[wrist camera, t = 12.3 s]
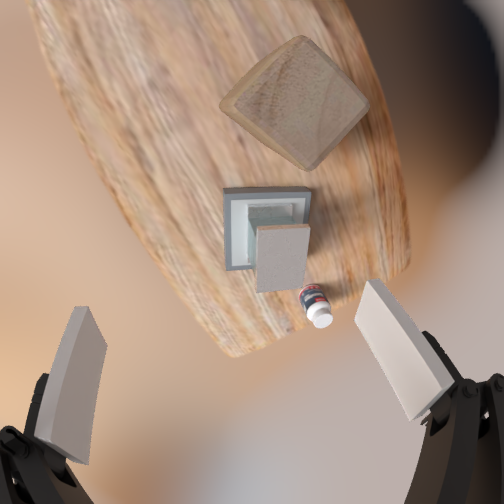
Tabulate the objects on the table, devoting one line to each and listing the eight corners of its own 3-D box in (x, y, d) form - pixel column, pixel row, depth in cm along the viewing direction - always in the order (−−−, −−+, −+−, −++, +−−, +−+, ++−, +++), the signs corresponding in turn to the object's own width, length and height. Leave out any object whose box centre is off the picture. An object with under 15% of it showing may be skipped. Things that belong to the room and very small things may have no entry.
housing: (246, 259, 47) (256, 292, 39) (247, 204, 42) (258, 230, 34) (285, 256, 48) (302, 288, 40) (290, 203, 43) (310, 227, 35)
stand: (223, 188, 43) (224, 194, 41) (305, 186, 45) (311, 192, 43) (224, 261, 50) (226, 271, 48) (297, 256, 53) (302, 265, 50)
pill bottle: (318, 280, 57) (335, 307, 49) (322, 296, 59) (337, 324, 52) (295, 289, 57) (309, 318, 49) (300, 305, 60) (313, 334, 52)
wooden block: (305, 101, 38) (377, 106, 21) (265, 145, 41) (311, 178, 24) (258, 60, 33) (304, 28, 16) (215, 106, 36) (226, 106, 19)
